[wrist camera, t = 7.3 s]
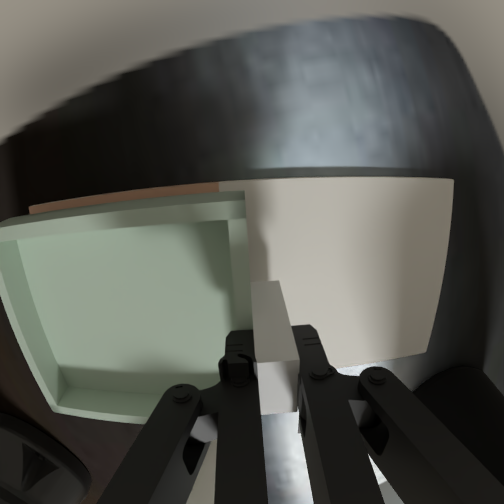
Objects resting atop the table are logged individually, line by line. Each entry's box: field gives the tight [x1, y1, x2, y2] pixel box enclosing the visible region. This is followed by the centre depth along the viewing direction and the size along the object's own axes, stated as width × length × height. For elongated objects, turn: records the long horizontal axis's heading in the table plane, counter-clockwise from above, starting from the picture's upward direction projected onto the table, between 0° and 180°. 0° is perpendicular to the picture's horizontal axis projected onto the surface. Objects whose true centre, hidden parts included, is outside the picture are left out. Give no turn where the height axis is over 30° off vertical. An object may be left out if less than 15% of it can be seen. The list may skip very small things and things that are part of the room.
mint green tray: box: [0, 190, 253, 424], centre depth 16 cm, size 13×12×4 cm
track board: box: [29, 176, 454, 369], centre depth 18 cm, size 26×13×1 cm, turn 93°
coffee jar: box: [413, 366, 504, 486], centre depth 15 cm, size 11×11×18 cm
